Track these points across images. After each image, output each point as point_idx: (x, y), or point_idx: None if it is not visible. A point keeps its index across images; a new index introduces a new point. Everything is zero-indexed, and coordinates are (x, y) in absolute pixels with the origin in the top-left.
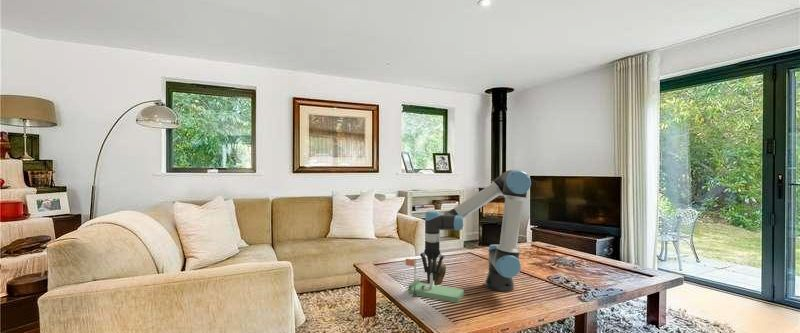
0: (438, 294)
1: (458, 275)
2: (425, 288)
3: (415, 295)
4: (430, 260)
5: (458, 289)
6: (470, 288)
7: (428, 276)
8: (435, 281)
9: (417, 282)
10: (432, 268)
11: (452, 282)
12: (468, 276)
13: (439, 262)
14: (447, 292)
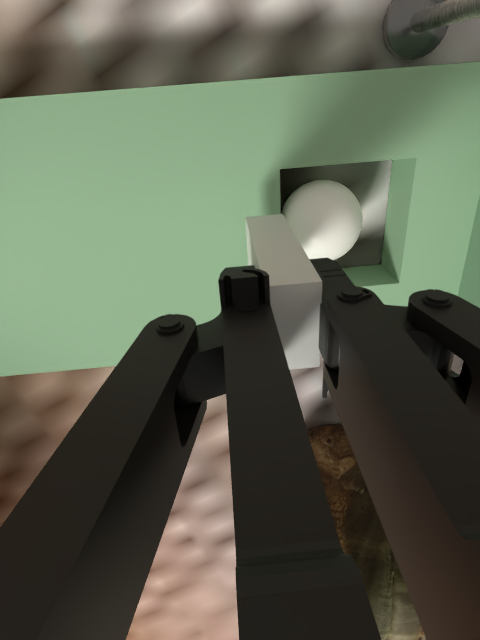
0: (105, 91)
1: (222, 607)
2: (332, 192)
3: (407, 15)
4: (464, 585)
5: (9, 361)
6: (26, 479)
7: (343, 277)
8: (311, 442)
9: (469, 297)
10: (382, 550)
11: (203, 511)
12: (158, 619)
13: (17, 581)
14: (51, 223)
